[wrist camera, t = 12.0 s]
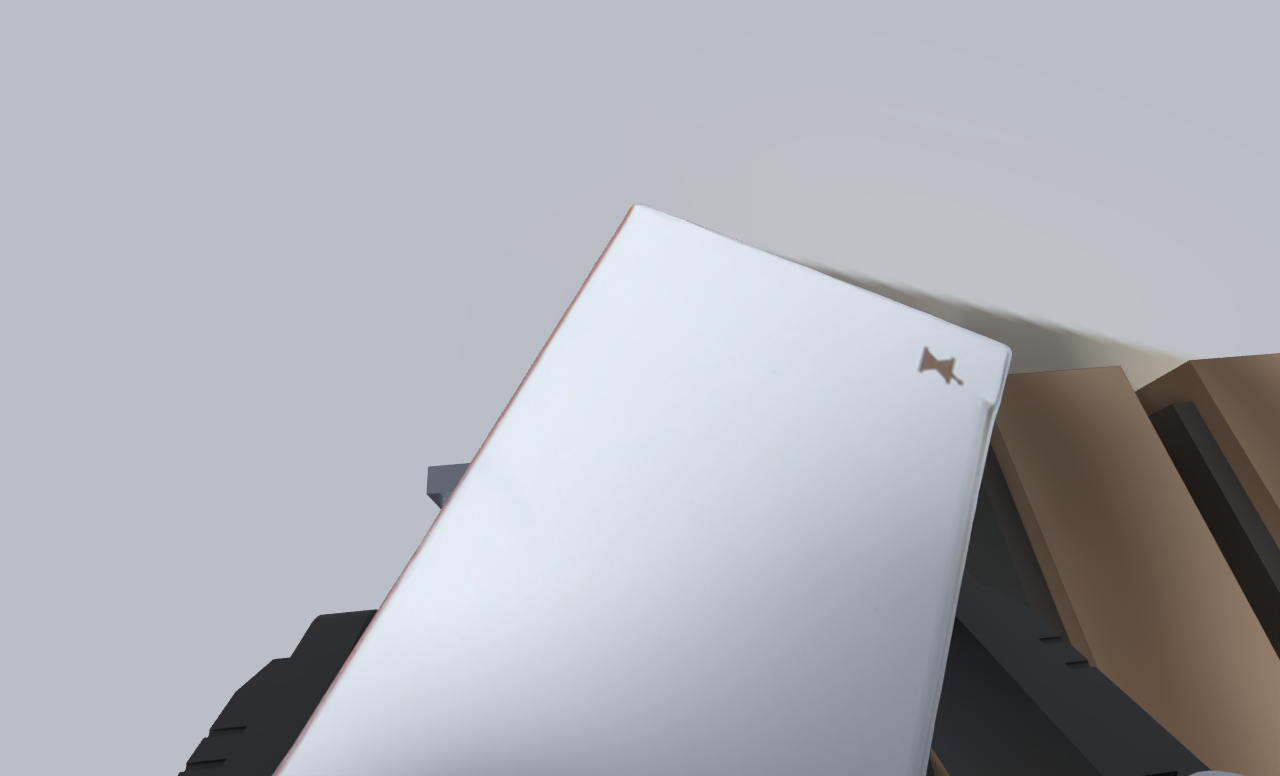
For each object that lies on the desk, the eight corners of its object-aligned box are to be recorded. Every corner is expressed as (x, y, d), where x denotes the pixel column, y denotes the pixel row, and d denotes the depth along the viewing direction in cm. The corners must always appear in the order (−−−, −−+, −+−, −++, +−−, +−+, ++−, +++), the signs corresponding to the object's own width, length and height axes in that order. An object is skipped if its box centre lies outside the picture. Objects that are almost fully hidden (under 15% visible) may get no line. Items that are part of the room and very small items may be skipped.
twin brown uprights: (1089, 462, 24) (1323, 350, 16) (1223, 745, 20) (1638, 782, 12) (839, 486, 23) (955, 378, 15) (919, 787, 19) (1144, 857, 11)
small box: (617, 452, 18) (635, 182, 8) (793, 532, 17) (1027, 331, 8) (472, 732, 14) (231, 795, 5) (686, 851, 13) (879, 1199, 4)
